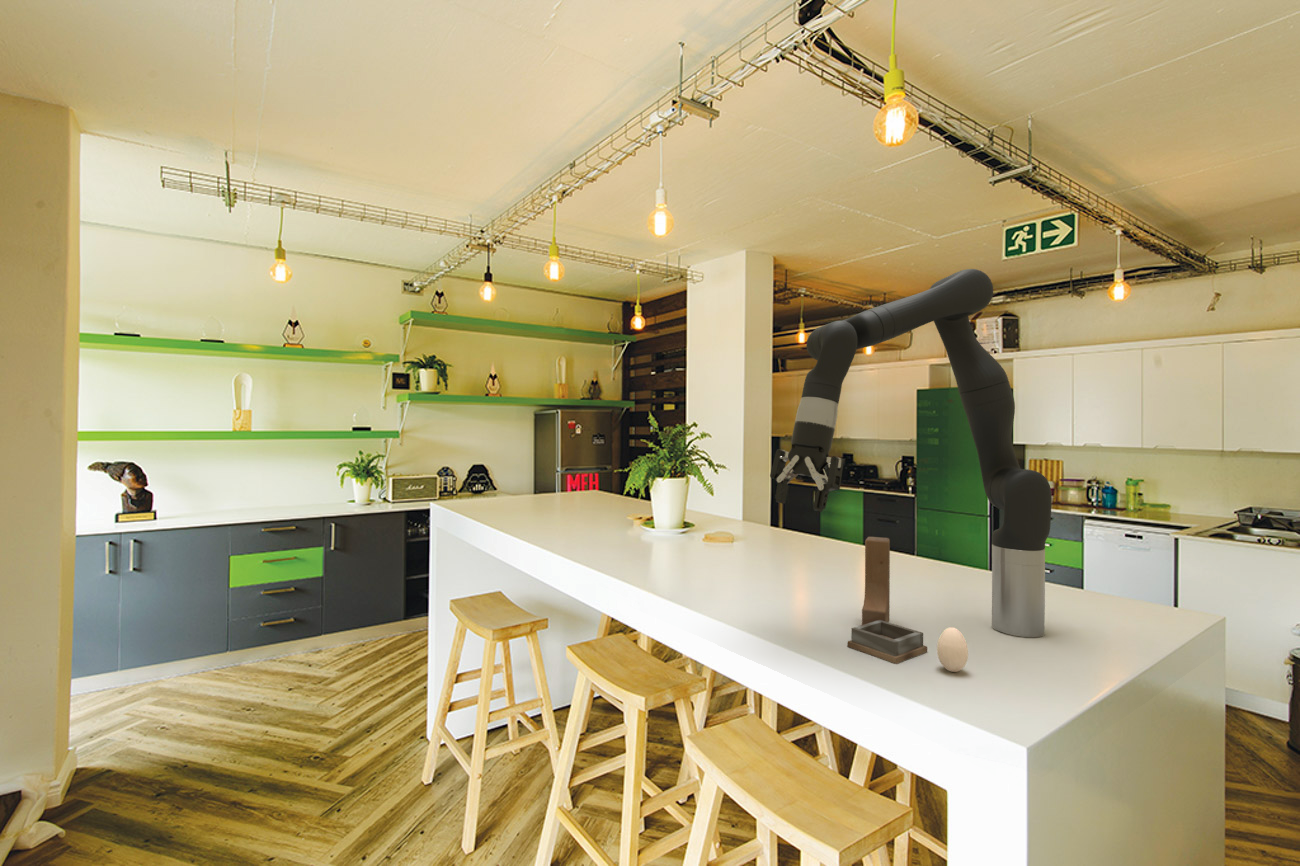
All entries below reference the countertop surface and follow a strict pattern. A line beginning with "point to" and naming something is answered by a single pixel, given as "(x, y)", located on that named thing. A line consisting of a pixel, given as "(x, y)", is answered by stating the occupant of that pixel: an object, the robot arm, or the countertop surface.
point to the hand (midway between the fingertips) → (798, 506)
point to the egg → (952, 649)
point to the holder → (887, 641)
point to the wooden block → (876, 580)
